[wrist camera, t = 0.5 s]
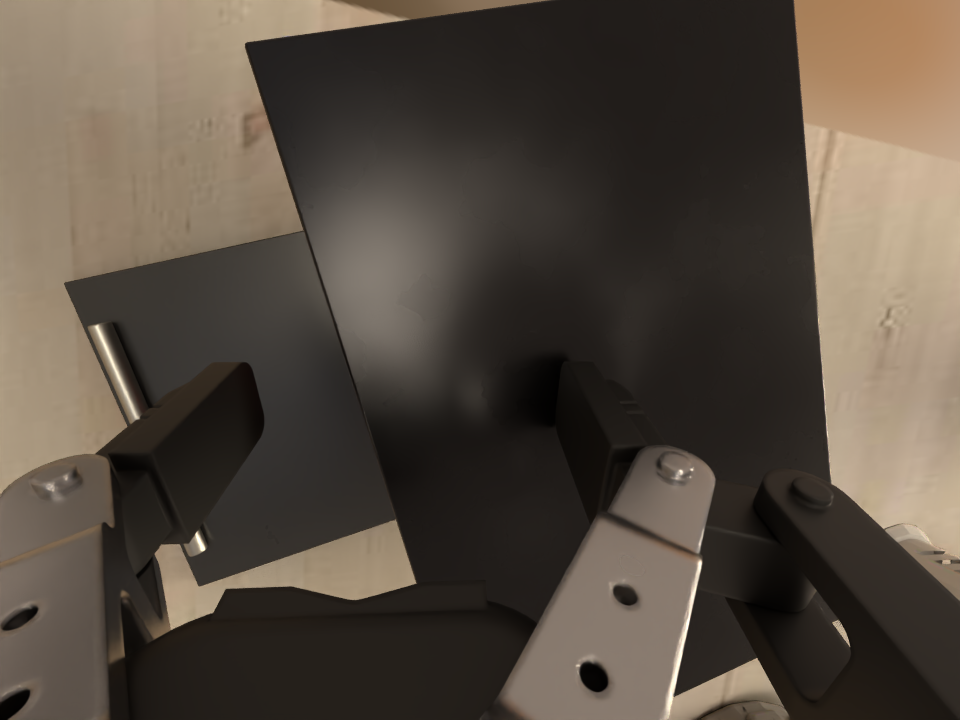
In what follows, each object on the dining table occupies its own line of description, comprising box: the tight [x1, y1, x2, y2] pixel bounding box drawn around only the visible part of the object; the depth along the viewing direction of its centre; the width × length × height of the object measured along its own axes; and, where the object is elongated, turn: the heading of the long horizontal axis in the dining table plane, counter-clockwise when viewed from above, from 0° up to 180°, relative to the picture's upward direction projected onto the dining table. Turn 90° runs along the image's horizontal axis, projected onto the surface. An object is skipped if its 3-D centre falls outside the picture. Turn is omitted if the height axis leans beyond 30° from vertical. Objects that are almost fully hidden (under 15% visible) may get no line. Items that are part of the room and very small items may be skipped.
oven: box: [64, 0, 839, 697], centre depth 19 cm, size 29×21×16 cm
